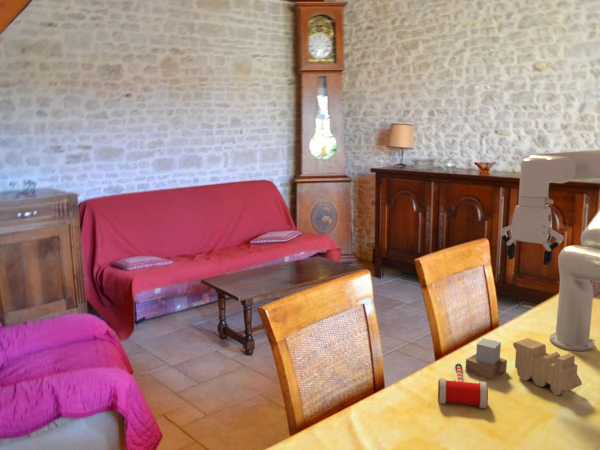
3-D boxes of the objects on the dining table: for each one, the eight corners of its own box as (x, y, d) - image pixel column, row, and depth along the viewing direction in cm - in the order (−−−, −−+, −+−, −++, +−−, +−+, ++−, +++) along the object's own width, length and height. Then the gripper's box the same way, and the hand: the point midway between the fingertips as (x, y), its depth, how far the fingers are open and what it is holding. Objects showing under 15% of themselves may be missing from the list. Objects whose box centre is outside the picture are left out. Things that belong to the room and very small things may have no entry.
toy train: (568, 400, 137) (571, 363, 136) (510, 374, 152) (513, 341, 150) (580, 394, 140) (584, 358, 138) (523, 369, 155) (525, 336, 153)
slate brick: (482, 354, 156) (483, 338, 155) (499, 358, 153) (500, 342, 152) (476, 360, 152) (476, 344, 151) (493, 365, 149) (494, 348, 148)
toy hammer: (437, 368, 157) (437, 347, 156) (479, 371, 154) (480, 350, 153) (438, 408, 135) (438, 384, 134) (487, 413, 132) (488, 389, 131)
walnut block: (480, 363, 159) (481, 351, 158) (506, 373, 153) (507, 360, 152) (465, 372, 154) (466, 359, 153) (491, 382, 148) (492, 368, 147)
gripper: (570, 203, 148) (564, 263, 152) (506, 197, 159) (503, 254, 163) (561, 206, 143) (556, 269, 146) (497, 201, 154) (493, 259, 157)
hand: (528, 261), depth 154 cm, fingers open, 9 cm apart
